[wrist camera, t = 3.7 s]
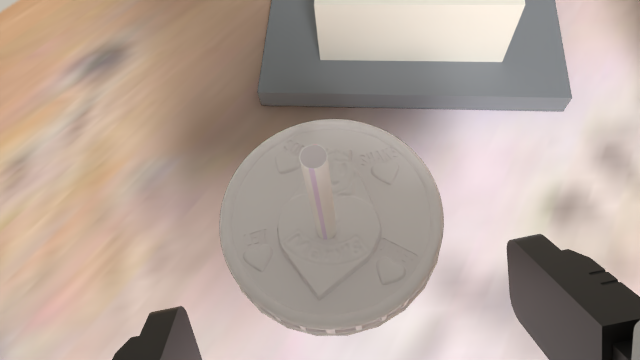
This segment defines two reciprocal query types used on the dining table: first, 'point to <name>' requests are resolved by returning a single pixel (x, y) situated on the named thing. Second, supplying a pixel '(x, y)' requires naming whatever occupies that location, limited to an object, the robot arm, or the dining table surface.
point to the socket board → (415, 55)
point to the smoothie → (331, 227)
